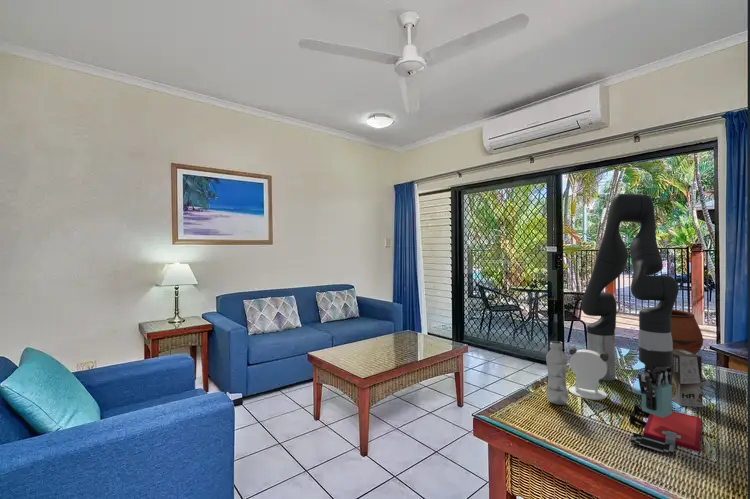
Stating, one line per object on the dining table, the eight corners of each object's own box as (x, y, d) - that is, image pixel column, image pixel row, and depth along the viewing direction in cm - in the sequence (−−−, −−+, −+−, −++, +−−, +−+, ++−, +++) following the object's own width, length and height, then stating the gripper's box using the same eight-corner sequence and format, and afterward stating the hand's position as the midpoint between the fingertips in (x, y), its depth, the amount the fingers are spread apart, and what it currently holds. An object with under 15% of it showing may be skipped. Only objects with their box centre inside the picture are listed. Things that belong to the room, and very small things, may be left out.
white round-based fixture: (609, 391, 125) (609, 349, 125) (608, 402, 116) (607, 357, 116) (571, 384, 132) (570, 344, 132) (566, 394, 123) (566, 351, 123)
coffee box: (704, 407, 111) (702, 356, 111) (680, 406, 113) (679, 355, 113) (684, 396, 120) (683, 348, 120) (663, 394, 121) (662, 348, 122)
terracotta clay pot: (650, 379, 136) (649, 314, 136) (636, 364, 154) (634, 307, 154) (714, 385, 129) (713, 317, 129) (691, 369, 146) (690, 309, 147)
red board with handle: (621, 442, 92) (699, 467, 82) (621, 432, 92) (699, 455, 82) (637, 406, 114) (701, 422, 104) (637, 398, 114) (701, 413, 104)
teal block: (642, 410, 100) (641, 382, 100) (651, 406, 102) (650, 379, 102) (663, 417, 96) (662, 388, 96) (672, 413, 98) (671, 384, 98)
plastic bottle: (567, 400, 118) (566, 340, 118) (569, 409, 112) (568, 345, 112) (546, 397, 120) (545, 339, 121) (546, 405, 114) (545, 343, 115)
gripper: (652, 340, 106) (654, 397, 106) (626, 346, 99) (627, 407, 99) (683, 346, 99) (685, 406, 99) (657, 353, 93) (659, 418, 92)
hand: (656, 406), depth 99 cm, fingers closed on teal block, 5 cm apart
